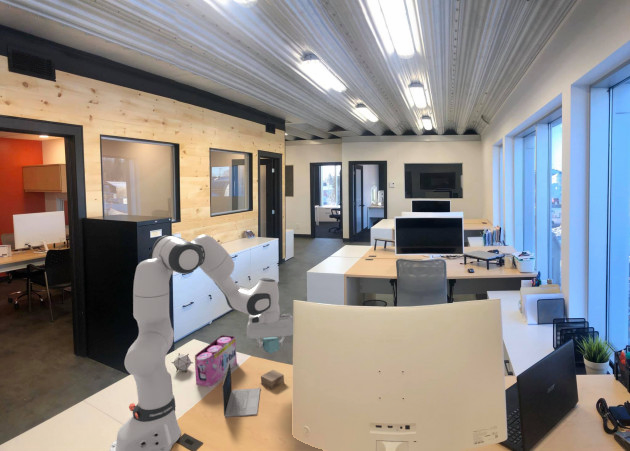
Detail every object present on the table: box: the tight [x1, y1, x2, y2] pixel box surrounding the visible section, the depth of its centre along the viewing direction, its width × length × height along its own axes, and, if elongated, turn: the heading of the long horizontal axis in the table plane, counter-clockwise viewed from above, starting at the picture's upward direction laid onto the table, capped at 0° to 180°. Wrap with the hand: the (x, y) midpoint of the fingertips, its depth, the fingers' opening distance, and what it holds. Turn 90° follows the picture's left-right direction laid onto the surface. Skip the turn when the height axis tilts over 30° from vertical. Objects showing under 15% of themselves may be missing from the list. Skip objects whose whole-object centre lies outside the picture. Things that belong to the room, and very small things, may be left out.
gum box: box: [194, 334, 238, 388], centre depth 176 cm, size 24×8×14 cm, turn 162°
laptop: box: [221, 363, 261, 418], centre depth 153 cm, size 18×12×13 cm
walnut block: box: [260, 369, 285, 390], centre depth 167 cm, size 7×7×4 cm
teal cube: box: [262, 337, 280, 354], centre depth 165 cm, size 5×5×5 cm
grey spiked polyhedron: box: [171, 352, 194, 373], centre depth 180 cm, size 9×8×10 cm
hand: (271, 346), depth 165 cm, fingers closed on teal cube, 7 cm apart
